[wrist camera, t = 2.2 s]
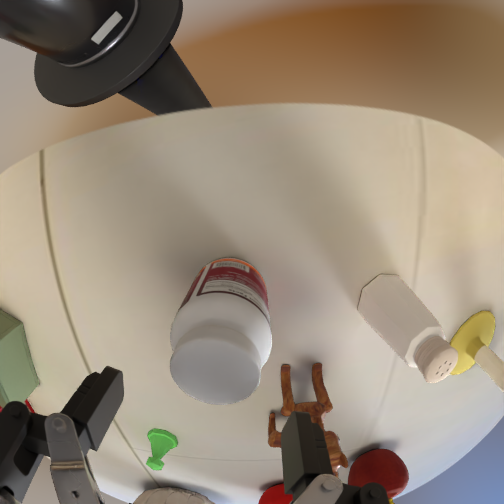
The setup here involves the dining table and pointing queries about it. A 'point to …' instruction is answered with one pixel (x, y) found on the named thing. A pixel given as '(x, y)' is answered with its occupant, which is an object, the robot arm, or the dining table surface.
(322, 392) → the cat figurine
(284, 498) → the fruit
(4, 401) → the bread bin lid
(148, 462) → the game piece
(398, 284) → the pepper shaker
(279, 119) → the dining table surface
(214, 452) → the dining table surface
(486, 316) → the candle
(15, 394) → the bin
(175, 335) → the pill bottle
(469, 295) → the dining table surface
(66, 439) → the robot arm
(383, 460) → the apple
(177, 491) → the vase
